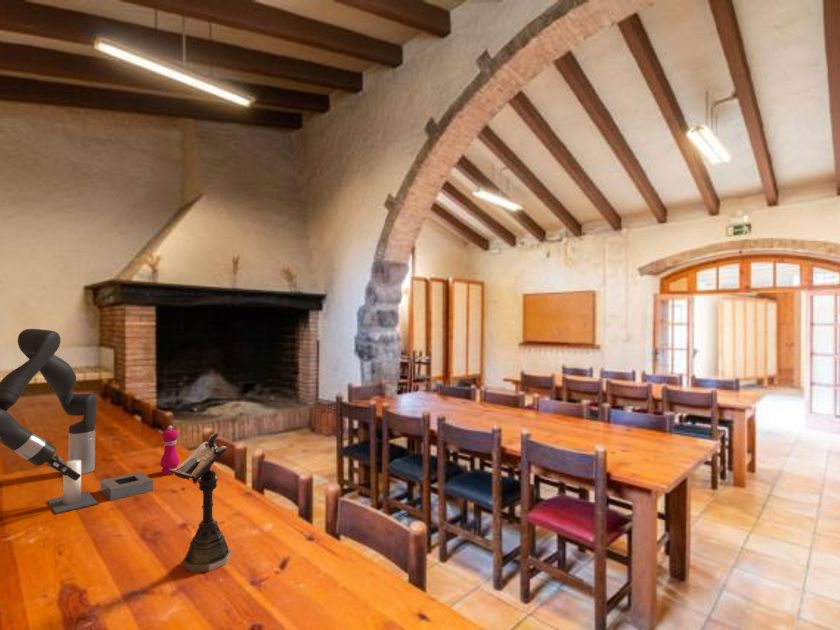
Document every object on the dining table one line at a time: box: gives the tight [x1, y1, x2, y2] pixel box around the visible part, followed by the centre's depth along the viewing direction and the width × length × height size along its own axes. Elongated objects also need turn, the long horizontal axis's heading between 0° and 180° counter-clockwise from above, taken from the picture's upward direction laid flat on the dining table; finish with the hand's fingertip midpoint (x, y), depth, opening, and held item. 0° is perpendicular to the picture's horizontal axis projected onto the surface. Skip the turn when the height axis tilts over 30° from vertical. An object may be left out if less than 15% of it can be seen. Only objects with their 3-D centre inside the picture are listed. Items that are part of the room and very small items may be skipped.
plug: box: [62, 460, 82, 504], centre depth 170 cm, size 5×5×14 cm
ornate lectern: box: [168, 432, 232, 573], centre depth 128 cm, size 17×13×35 cm
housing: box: [100, 471, 154, 501], centre depth 182 cm, size 14×14×4 cm
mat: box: [47, 490, 99, 515], centre depth 170 cm, size 16×12×1 cm
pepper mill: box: [160, 425, 180, 476], centre depth 204 cm, size 7×7×20 cm
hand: (75, 475), depth 171 cm, fingers open, 8 cm apart
